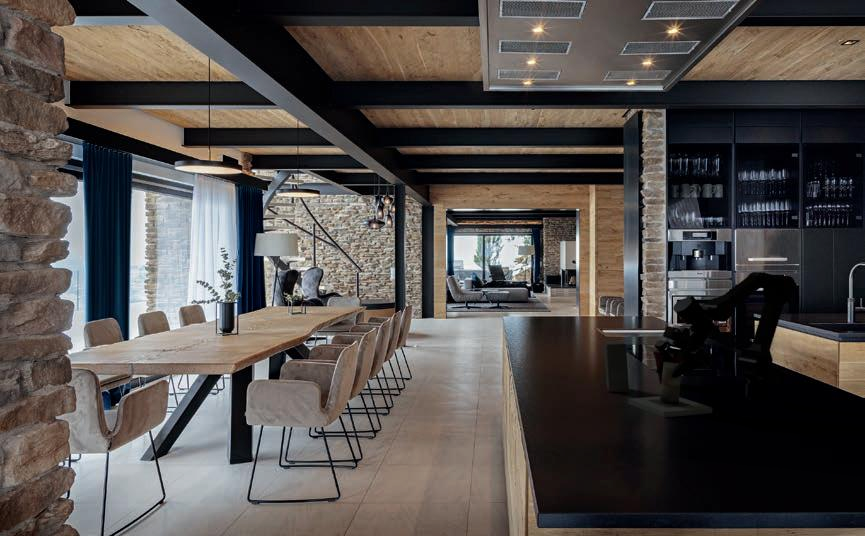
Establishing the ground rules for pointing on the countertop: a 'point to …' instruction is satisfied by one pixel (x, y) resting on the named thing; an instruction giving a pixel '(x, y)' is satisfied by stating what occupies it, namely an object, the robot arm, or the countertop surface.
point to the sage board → (669, 407)
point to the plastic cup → (657, 359)
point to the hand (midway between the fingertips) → (664, 375)
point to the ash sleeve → (670, 384)
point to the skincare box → (616, 367)
